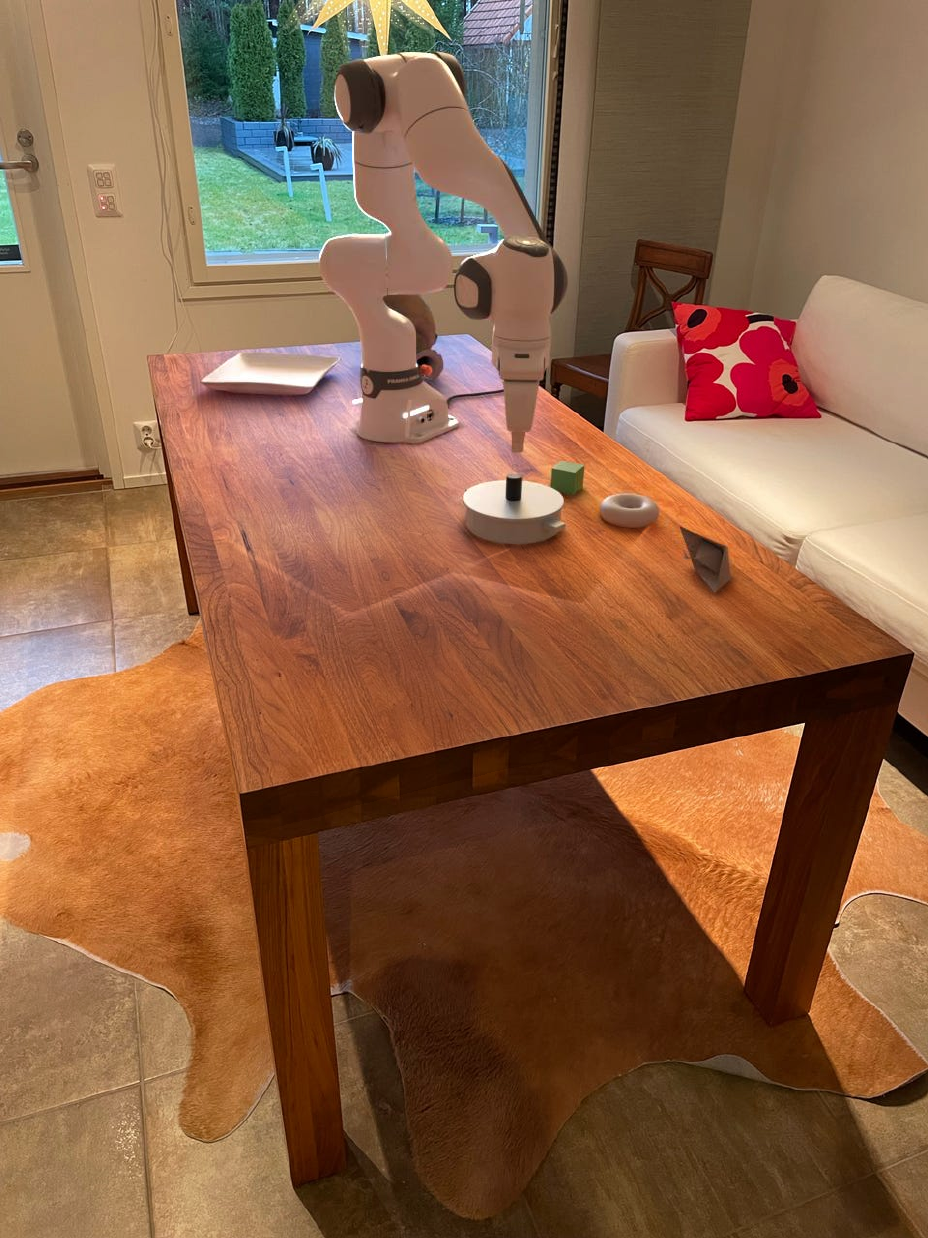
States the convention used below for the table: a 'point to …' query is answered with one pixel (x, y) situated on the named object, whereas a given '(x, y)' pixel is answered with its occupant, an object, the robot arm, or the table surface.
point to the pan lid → (513, 500)
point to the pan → (514, 529)
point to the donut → (629, 510)
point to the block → (567, 477)
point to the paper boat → (708, 559)
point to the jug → (419, 328)
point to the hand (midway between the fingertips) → (516, 440)
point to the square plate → (270, 373)
